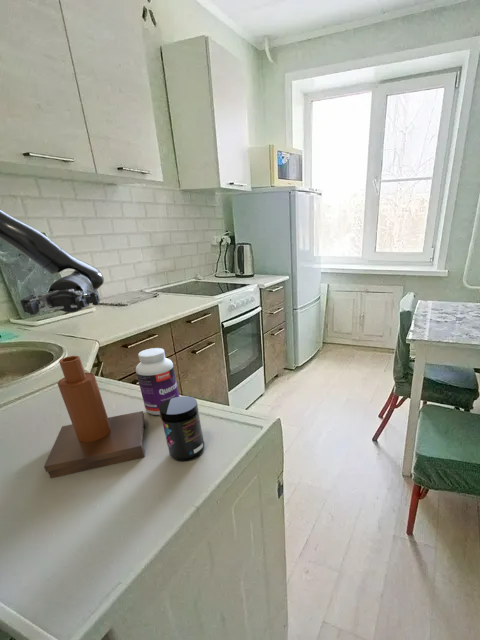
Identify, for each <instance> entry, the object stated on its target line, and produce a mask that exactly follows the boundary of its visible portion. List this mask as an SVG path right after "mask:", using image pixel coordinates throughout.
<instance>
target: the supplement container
mask: <svg viewBox="0 0 480 640" xmlns="http://www.w3.org/2000/svg"><path fill="white" fill-rule="evenodd" d="M159 411H160V415H159V416H160V419H161V423H162V427H163V431H164V435H165V441H166V445H167V448H168V453H169V456H170V457H171V458H172V459H173V460H175V461H178V462H188V461H192V460H194V459H196V458H198V457H200V456H201V455H202V454H203V453H204V450H205V439H204V434H203V429H202V424H201V418H200V413H199V406H198V400H197V399H196V398H195V397H193V396H187V395H185V396H183V395H182V396H179V397H175V398H171V399H169V400H167V401H165V402H163V403H162V404H161V405H160V406H159Z"/></svg>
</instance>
